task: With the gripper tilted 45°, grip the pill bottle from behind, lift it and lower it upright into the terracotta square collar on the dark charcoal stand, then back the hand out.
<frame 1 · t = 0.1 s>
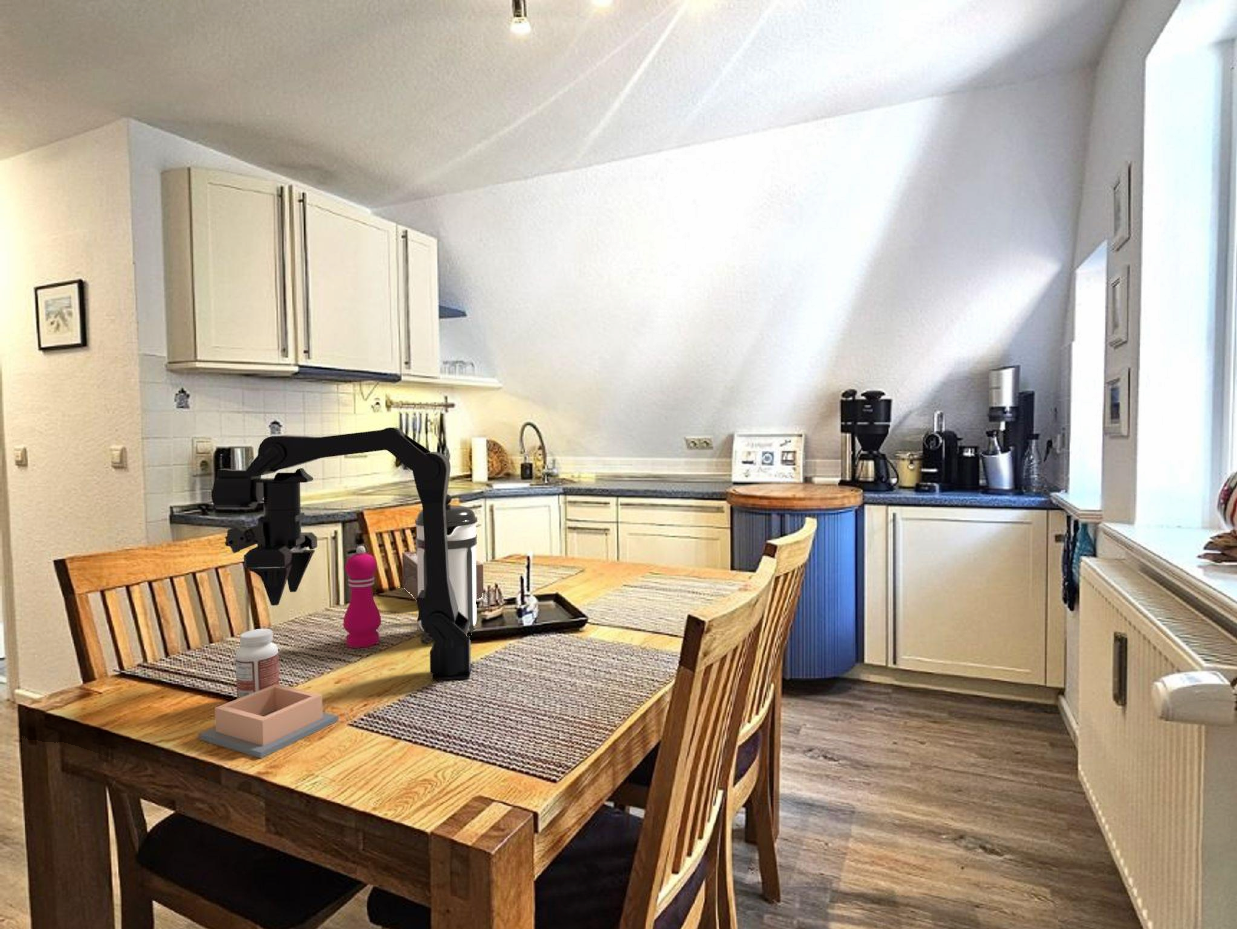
hand: (284, 598, 120), 15 cm above the table, tool pointing down, fingers open, 9 cm apart
coffee press: (445, 633, 149), on the table
tissue box cover: (441, 596, 182), on the table
pepper mill: (362, 644, 142), on the table
pill bottle: (258, 701, 113), on the table
bottle stand: (270, 729, 102), on the table
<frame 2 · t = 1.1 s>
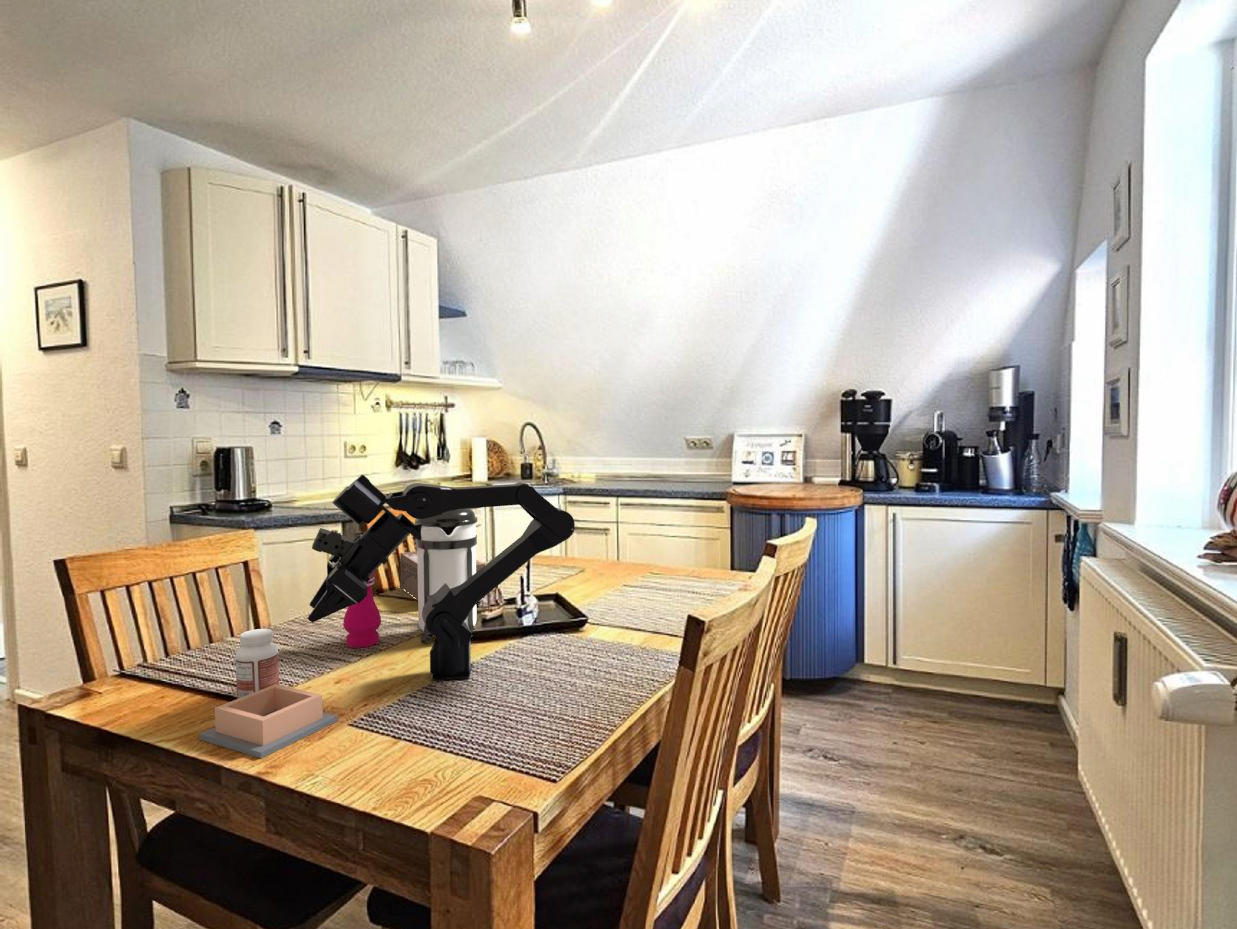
hand: (310, 613, 116), 13 cm above the table, tool tilted 45°, fingers open, 9 cm apart
nothing on the table moved.
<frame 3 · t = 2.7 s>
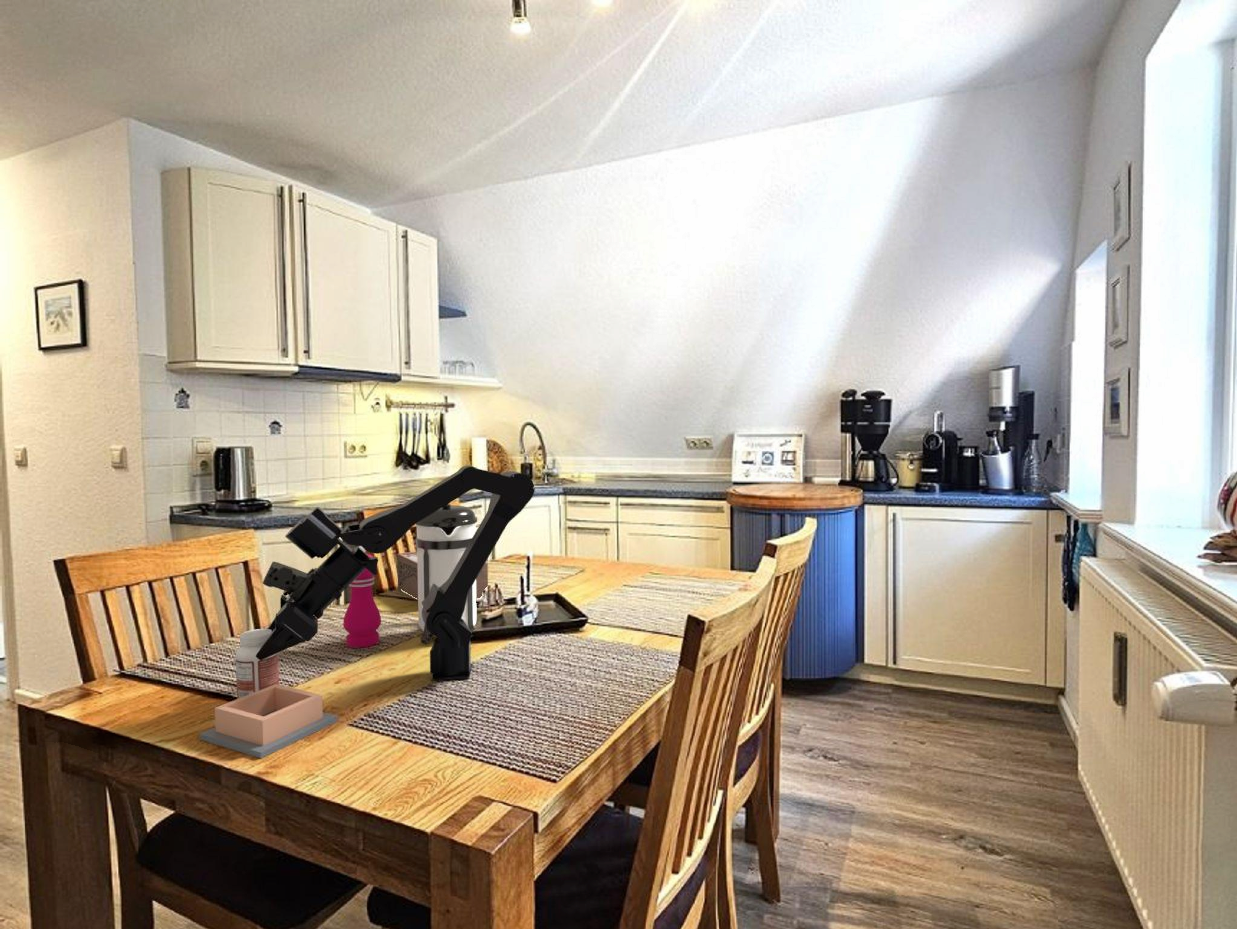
hand: (260, 649, 113), 8 cm above the table, tool tilted 45°, fingers open, 9 cm apart
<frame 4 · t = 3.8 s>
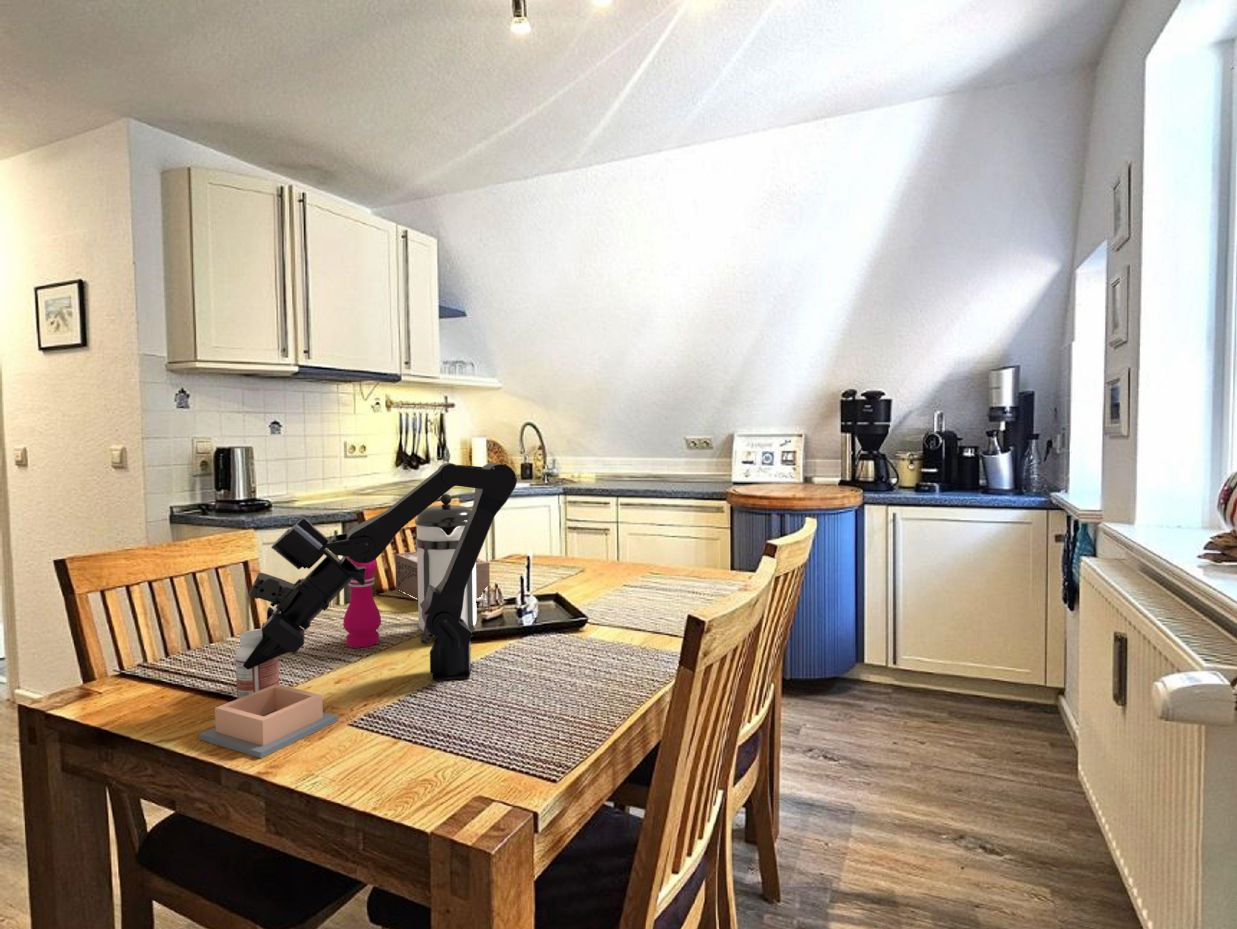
hand: (247, 660, 112), 7 cm above the table, tool tilted 45°, fingers closed on pill bottle, 6 cm apart
pill bottle: (258, 700, 113), on the table, touching gripper
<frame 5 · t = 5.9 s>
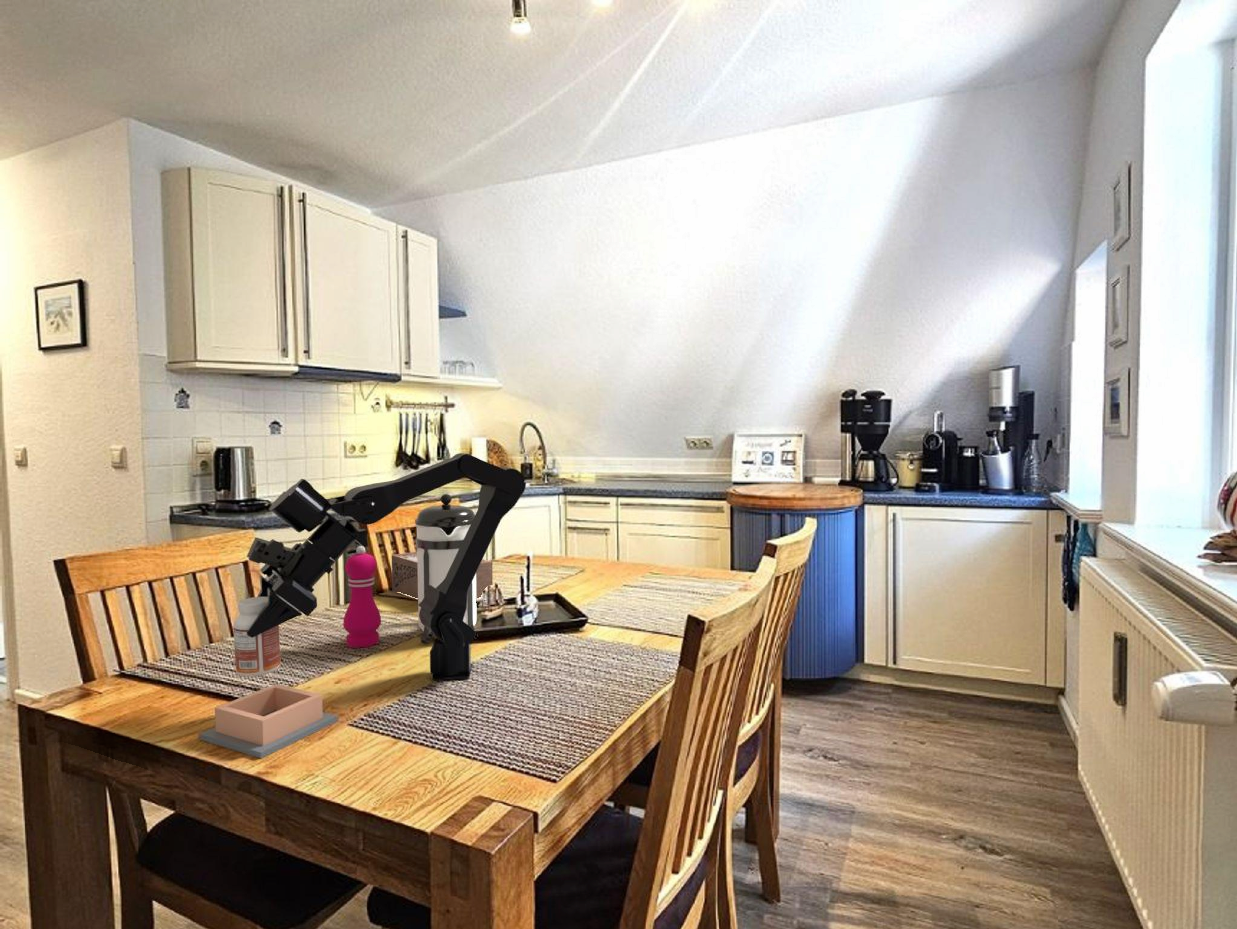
hand: (246, 630, 107), 13 cm above the table, tool tilted 45°, fingers closed on pill bottle, 6 cm apart
pill bottle: (258, 672, 108), point 6 cm above the table, touching gripper
when the fingers open (9 cm above the table, at t = 8.1 s): pill bottle drops 1 cm, resting on bottle stand.
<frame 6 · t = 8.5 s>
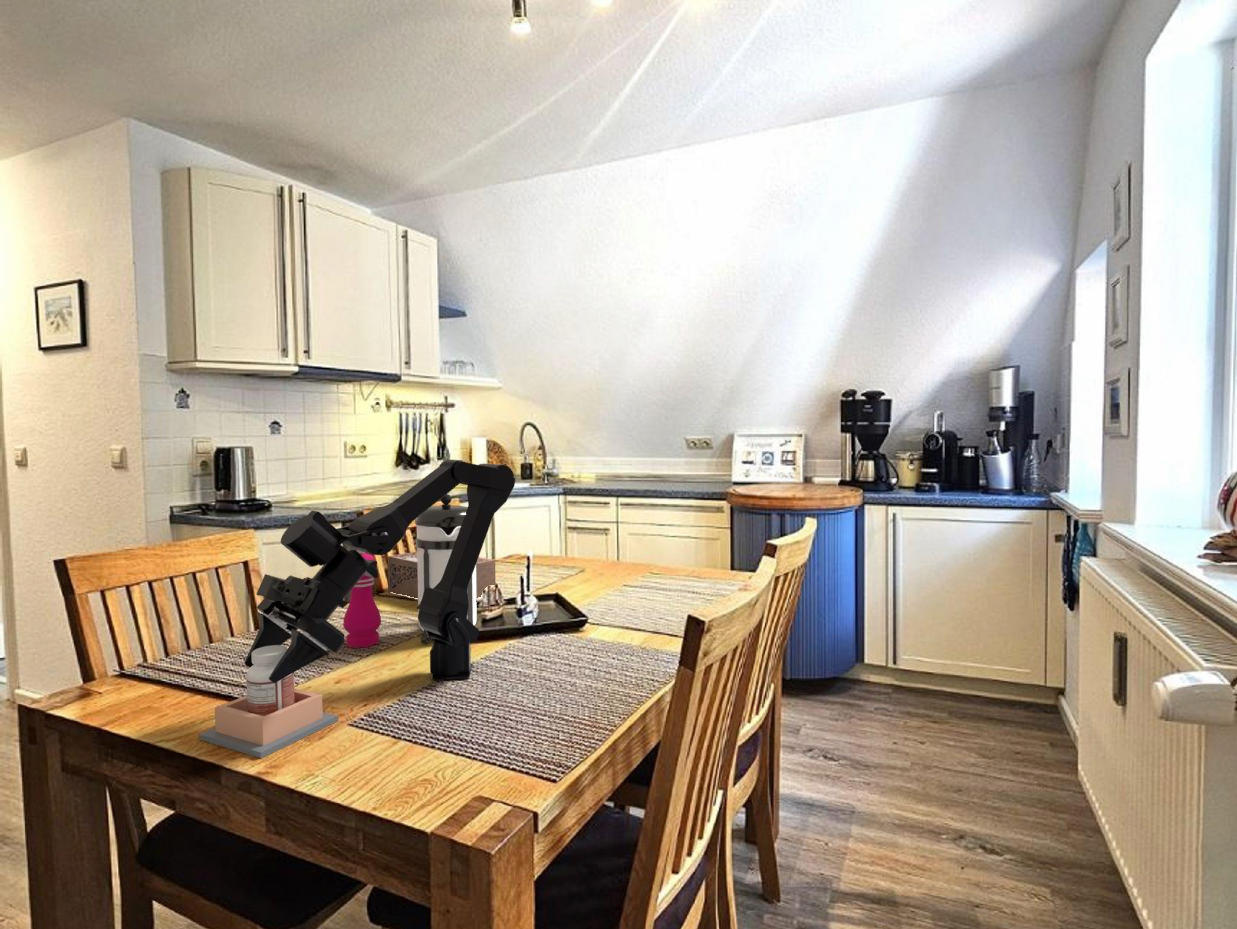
hand: (258, 673, 101), 9 cm above the table, tool tilted 45°, fingers open, 9 cm apart
pill bottle: (271, 725, 102), point 1 cm above the table, touching bottle stand
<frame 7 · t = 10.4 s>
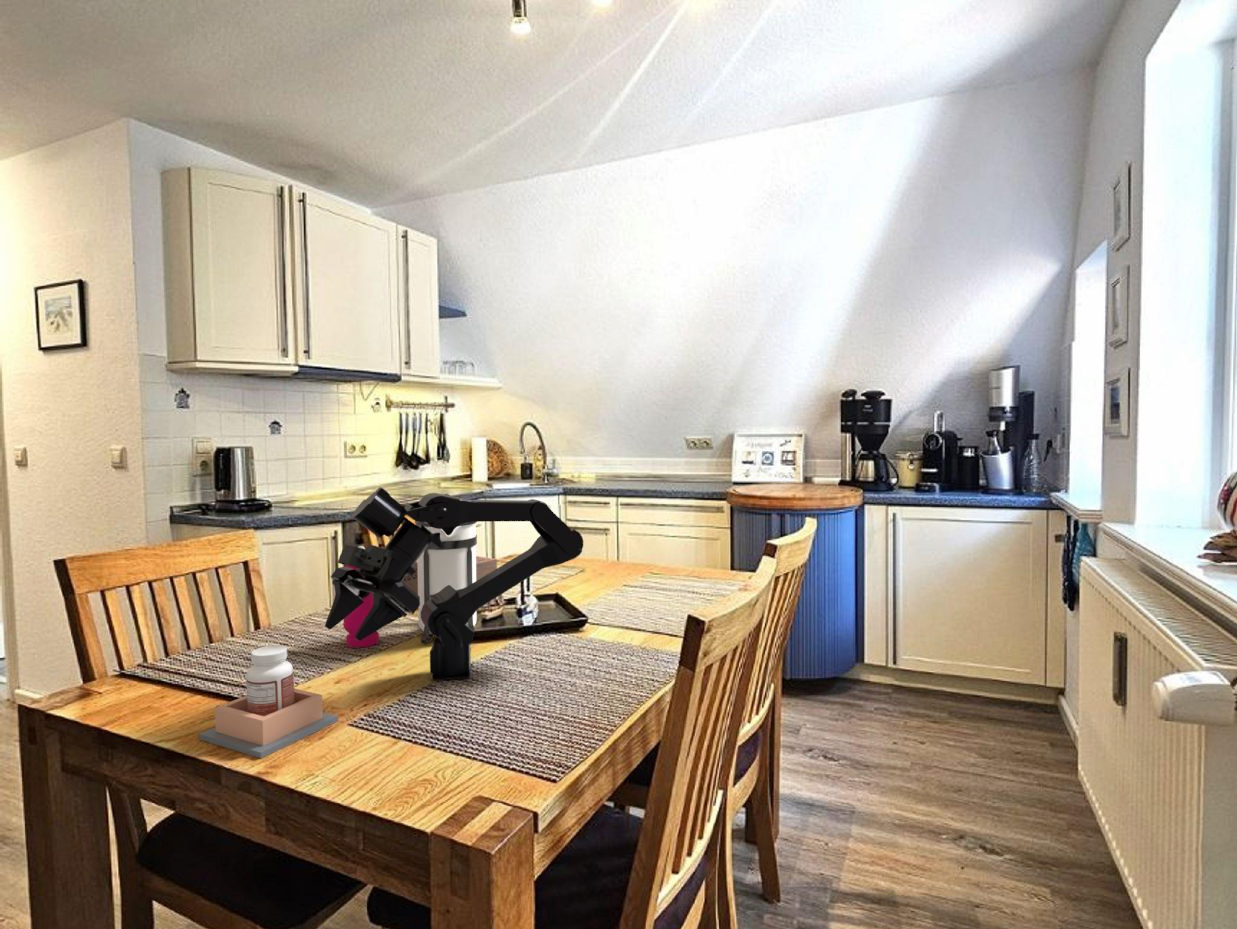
hand: (341, 633, 111), 11 cm above the table, tool tilted 45°, fingers open, 9 cm apart
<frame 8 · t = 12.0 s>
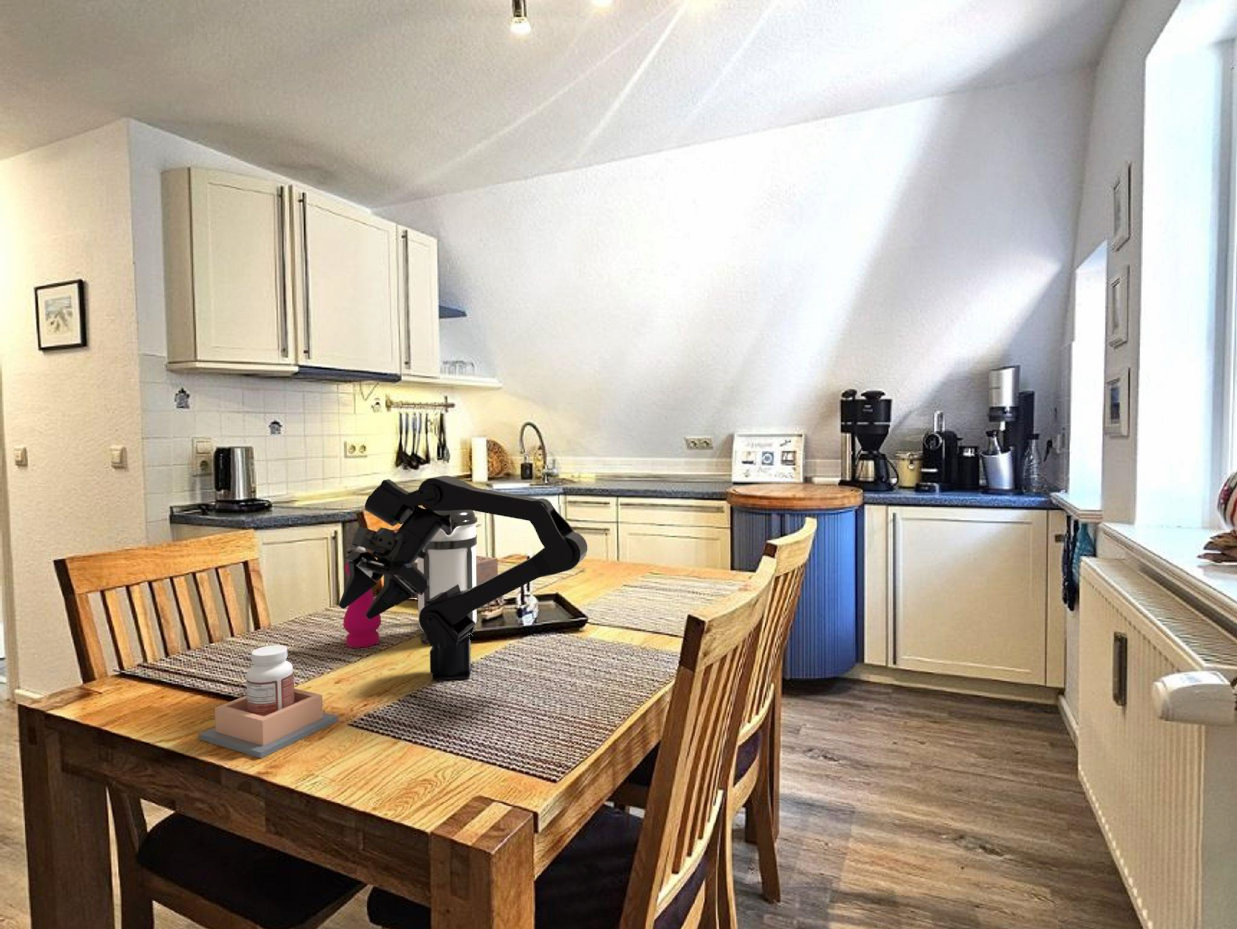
hand: (353, 612, 115), 14 cm above the table, tool tilted 45°, fingers open, 9 cm apart
at the end: pill bottle 0.1 cm off-centre on the bottle stand, point 0.6 cm above the bottle stand's base; pill bottle tilted 0°; the gripper is holding nothing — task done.
